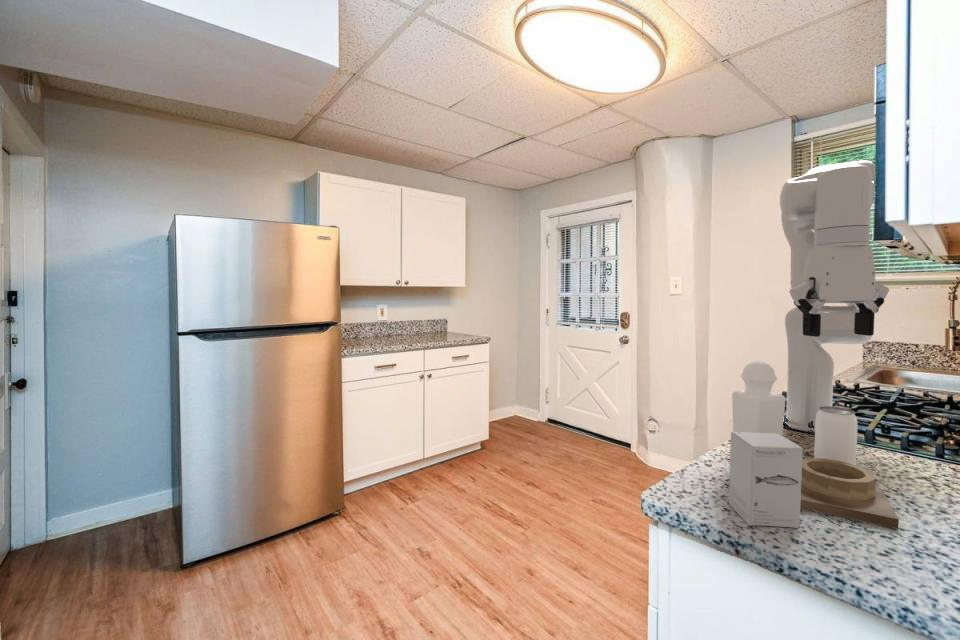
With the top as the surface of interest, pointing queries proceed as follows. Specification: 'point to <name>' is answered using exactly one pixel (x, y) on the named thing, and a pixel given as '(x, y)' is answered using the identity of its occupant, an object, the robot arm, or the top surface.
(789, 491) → the supplement box
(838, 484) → the mount board
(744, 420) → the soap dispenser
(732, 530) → the top surface
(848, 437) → the can
